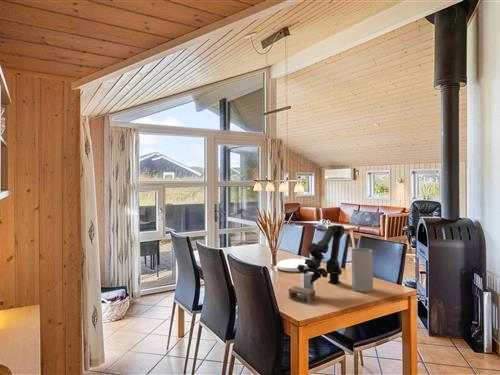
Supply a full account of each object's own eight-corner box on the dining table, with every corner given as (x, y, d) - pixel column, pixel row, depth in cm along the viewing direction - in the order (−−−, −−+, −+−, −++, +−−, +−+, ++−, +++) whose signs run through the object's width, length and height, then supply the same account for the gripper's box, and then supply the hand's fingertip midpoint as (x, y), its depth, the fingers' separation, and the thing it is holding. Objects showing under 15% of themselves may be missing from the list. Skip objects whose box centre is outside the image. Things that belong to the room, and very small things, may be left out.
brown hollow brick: (295, 294, 206) (295, 286, 205) (315, 299, 196) (315, 290, 196) (288, 298, 200) (288, 288, 200) (309, 303, 191) (309, 293, 191)
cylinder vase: (364, 285, 221) (363, 247, 221) (377, 291, 209) (376, 250, 209) (348, 288, 217) (347, 249, 216) (360, 293, 205) (360, 252, 205)
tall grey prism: (306, 293, 207) (305, 272, 207) (314, 295, 204) (314, 274, 203) (296, 298, 199) (295, 276, 199) (305, 300, 195) (304, 278, 195)
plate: (298, 268, 250) (269, 264, 267) (299, 277, 251) (270, 272, 268) (316, 257, 272) (288, 254, 288) (317, 265, 272) (289, 261, 289)
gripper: (298, 251, 213) (288, 273, 205) (325, 255, 200) (315, 278, 192) (305, 261, 219) (296, 282, 211) (331, 265, 206) (323, 288, 198)
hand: (307, 282), depth 203 cm, fingers closed on tall grey prism, 4 cm apart
